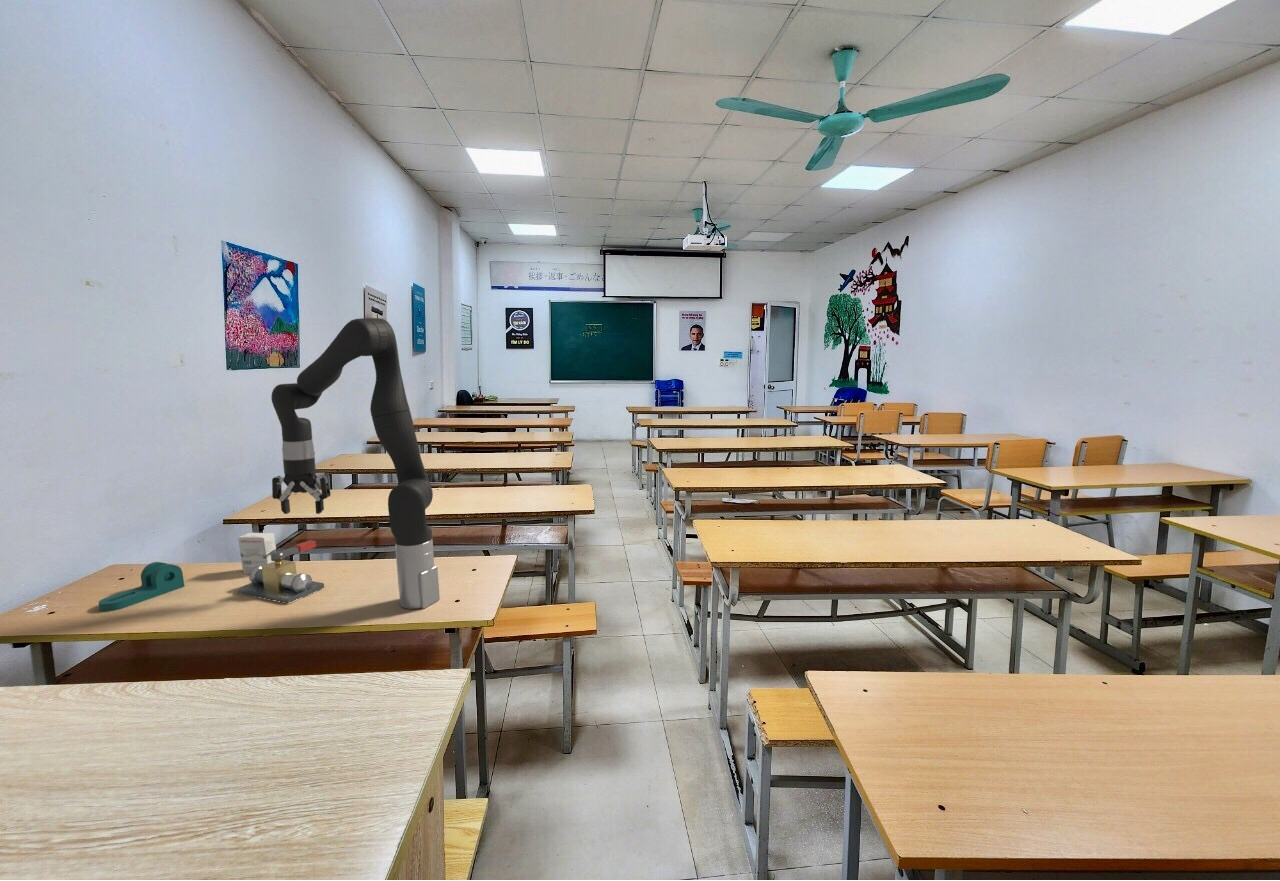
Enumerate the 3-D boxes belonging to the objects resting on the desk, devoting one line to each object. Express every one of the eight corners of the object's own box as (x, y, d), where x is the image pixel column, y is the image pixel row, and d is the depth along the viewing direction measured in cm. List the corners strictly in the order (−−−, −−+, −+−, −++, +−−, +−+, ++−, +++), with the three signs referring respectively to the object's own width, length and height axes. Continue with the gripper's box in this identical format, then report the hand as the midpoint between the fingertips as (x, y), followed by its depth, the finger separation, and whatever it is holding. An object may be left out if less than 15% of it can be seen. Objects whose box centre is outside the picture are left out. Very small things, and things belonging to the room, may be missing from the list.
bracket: (169, 584, 169) (166, 558, 168) (184, 587, 166) (180, 561, 165) (94, 610, 152) (89, 581, 151) (109, 613, 150) (104, 585, 149)
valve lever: (316, 547, 171) (316, 541, 170) (276, 561, 159) (275, 555, 159) (309, 545, 172) (308, 539, 172) (268, 560, 160) (267, 554, 160)
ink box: (279, 568, 179) (275, 532, 178) (268, 574, 175) (263, 537, 173) (254, 567, 180) (249, 531, 178) (241, 573, 175) (237, 536, 174)
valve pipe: (324, 588, 164) (321, 557, 163) (288, 604, 154) (284, 571, 152) (275, 578, 171) (272, 549, 170) (238, 593, 161) (234, 562, 160)
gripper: (263, 458, 153) (268, 517, 156) (319, 459, 155) (324, 517, 157) (278, 453, 161) (283, 509, 163) (331, 453, 162) (335, 509, 165)
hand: (303, 513), depth 160 cm, fingers open, 8 cm apart
